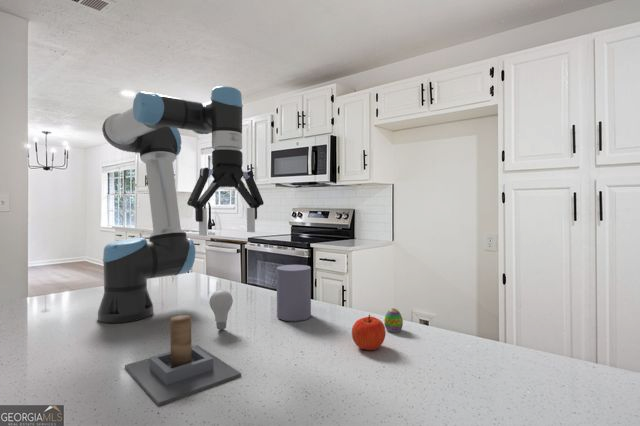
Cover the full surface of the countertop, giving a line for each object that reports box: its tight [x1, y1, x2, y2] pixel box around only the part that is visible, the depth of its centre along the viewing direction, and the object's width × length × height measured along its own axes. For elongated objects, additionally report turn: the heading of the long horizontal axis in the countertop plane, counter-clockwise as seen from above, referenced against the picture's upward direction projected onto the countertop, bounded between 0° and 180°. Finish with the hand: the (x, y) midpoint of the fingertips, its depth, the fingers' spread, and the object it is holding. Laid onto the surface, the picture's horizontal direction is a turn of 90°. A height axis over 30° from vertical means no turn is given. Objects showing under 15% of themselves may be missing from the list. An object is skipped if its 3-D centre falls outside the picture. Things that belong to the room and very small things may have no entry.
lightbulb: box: [208, 289, 234, 331], centre depth 101 cm, size 6×6×11 cm
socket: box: [124, 345, 242, 407], centre depth 76 cm, size 20×16×3 cm
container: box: [276, 264, 312, 322], centre depth 113 cm, size 10×10×15 cm
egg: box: [383, 308, 404, 333], centre depth 100 cm, size 5×5×6 cm
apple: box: [351, 314, 386, 351], centre depth 89 cm, size 8×8×8 cm
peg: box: [169, 314, 192, 369], centre depth 76 cm, size 4×4×10 cm
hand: (228, 233), depth 95 cm, fingers open, 13 cm apart
